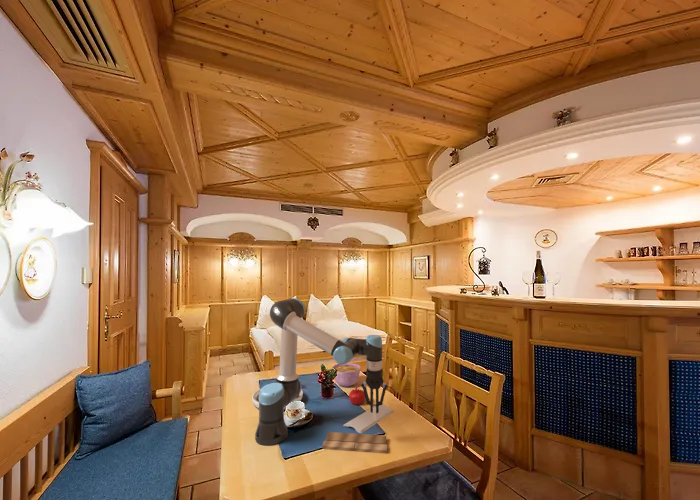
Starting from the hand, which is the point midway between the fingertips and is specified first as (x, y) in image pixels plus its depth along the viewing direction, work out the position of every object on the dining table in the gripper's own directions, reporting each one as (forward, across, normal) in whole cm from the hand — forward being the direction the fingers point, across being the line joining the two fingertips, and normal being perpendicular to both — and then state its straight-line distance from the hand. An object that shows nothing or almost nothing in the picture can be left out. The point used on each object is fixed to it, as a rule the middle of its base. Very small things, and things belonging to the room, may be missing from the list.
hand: (374, 419), depth 149 cm
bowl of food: (+10, -23, +67) cm, 71 cm away
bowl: (+11, -61, +35) cm, 71 cm away
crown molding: (+10, -4, +20) cm, 23 cm away
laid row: (+10, -9, -8) cm, 15 cm away
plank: (+9, -9, -2) cm, 13 cm away
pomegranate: (+10, -13, +39) cm, 42 cm away
